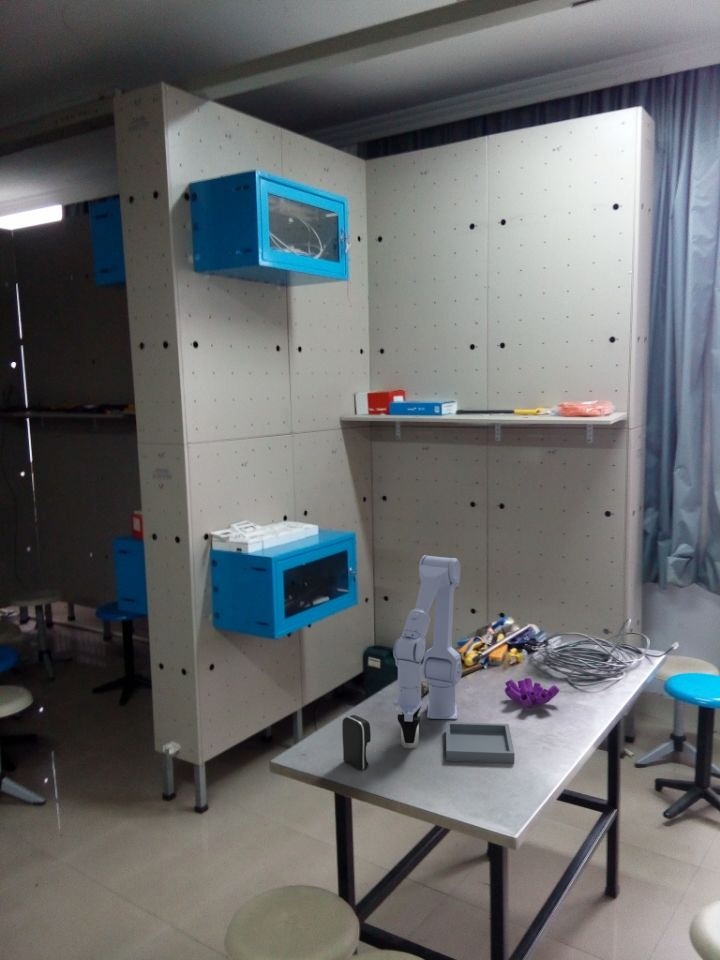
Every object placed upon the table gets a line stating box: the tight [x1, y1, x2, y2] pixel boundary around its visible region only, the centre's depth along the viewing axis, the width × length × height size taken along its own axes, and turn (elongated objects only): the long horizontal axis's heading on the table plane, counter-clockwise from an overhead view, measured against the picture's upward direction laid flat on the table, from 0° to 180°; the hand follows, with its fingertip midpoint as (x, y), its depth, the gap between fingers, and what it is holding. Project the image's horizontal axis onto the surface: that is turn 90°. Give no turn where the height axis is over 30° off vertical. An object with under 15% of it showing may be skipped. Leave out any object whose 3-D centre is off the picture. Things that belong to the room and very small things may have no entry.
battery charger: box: [341, 714, 372, 771], centre depth 180 cm, size 7×4×11 cm, turn 41°
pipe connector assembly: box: [504, 677, 560, 708], centre depth 213 cm, size 11×15×10 cm
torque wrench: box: [421, 663, 485, 698], centre depth 230 cm, size 5×35×5 cm
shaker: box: [400, 723, 420, 749], centre depth 190 cm, size 4×4×6 cm
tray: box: [445, 721, 515, 764], centre depth 188 cm, size 16×16×2 cm
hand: (410, 737), depth 190 cm, fingers open, 5 cm apart
